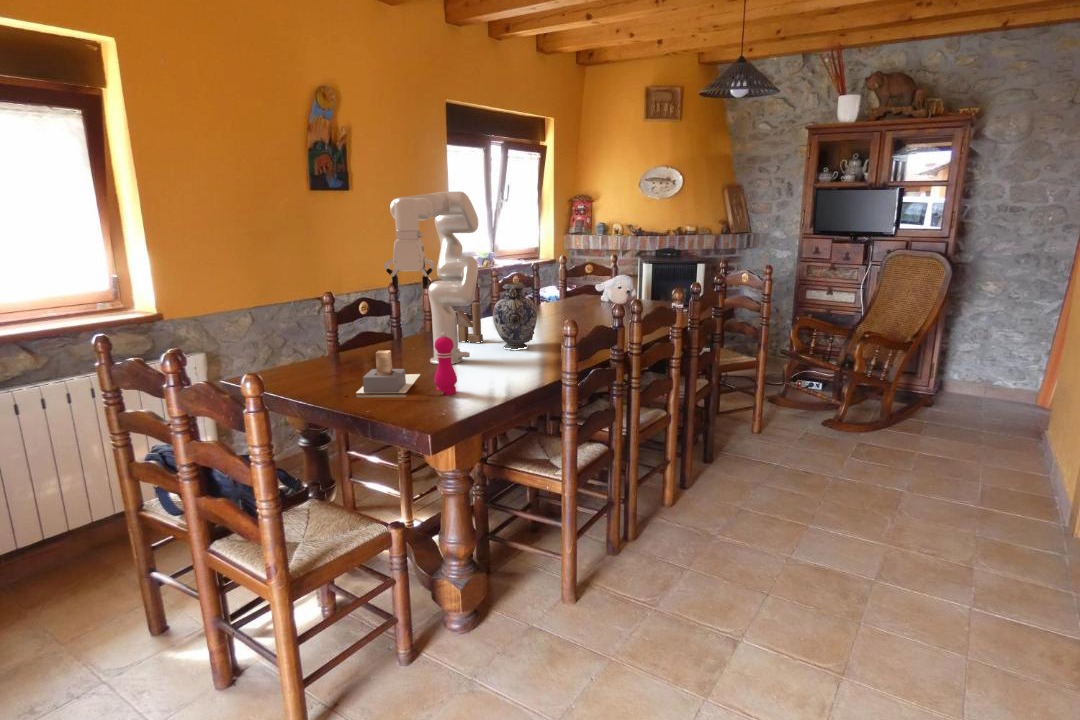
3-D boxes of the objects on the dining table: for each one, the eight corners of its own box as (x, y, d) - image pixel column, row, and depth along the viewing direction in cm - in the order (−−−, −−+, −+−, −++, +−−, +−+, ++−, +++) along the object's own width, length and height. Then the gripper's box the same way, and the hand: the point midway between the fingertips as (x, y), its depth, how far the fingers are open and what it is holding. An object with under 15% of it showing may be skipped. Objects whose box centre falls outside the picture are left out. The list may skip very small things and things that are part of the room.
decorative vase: (536, 353, 266) (534, 285, 260) (491, 353, 267) (489, 286, 261) (538, 343, 287) (537, 280, 280) (497, 343, 287) (494, 280, 281)
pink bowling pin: (442, 389, 213) (439, 329, 209) (461, 391, 211) (459, 330, 206) (430, 394, 207) (427, 333, 202) (450, 396, 204) (447, 334, 200)
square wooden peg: (393, 386, 212) (390, 350, 209) (390, 389, 208) (388, 353, 205) (380, 386, 212) (378, 350, 209) (378, 389, 208) (375, 353, 205)
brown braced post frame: (462, 340, 294) (460, 301, 290) (483, 342, 290) (482, 302, 286) (458, 342, 290) (456, 302, 286) (479, 343, 286) (478, 303, 282)
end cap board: (420, 378, 228) (419, 360, 226) (406, 397, 204) (404, 377, 203) (375, 378, 228) (374, 360, 226) (355, 397, 204) (354, 377, 203)
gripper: (435, 235, 216) (438, 286, 220) (384, 236, 216) (387, 287, 220) (431, 236, 209) (434, 289, 213) (378, 237, 209) (382, 289, 213)
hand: (410, 288), depth 216 cm, fingers open, 9 cm apart
